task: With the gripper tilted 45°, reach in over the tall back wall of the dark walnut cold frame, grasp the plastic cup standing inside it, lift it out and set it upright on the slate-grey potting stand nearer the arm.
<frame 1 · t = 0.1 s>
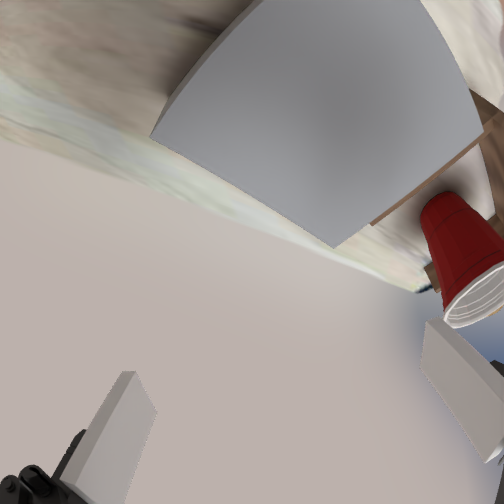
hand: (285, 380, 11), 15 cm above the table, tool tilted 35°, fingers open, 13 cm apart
potting stand: (320, 82, 16), on the table
cold frame: (439, 209, 26), on the table
plastic cup: (438, 208, 26), on the table
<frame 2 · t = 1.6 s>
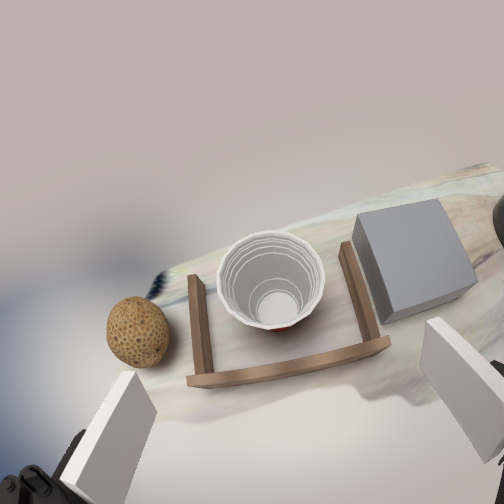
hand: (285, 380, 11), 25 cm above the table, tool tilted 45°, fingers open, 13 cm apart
potting stand: (408, 267, 37), on the table
cold frame: (279, 310, 38), on the table
plastic cup: (279, 311, 38), on the table
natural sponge: (156, 342, 38), on the table
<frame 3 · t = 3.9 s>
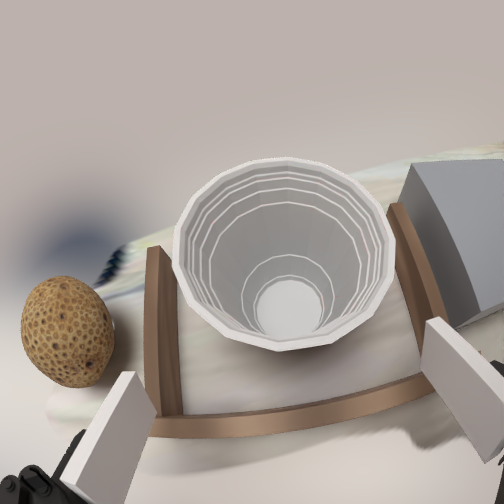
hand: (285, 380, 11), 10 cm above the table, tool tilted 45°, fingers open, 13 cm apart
potting stand: (472, 250, 22), on the table
cold frame: (291, 309, 23), on the table
plastic cup: (291, 310, 23), on the table
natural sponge: (103, 348, 24), on the table
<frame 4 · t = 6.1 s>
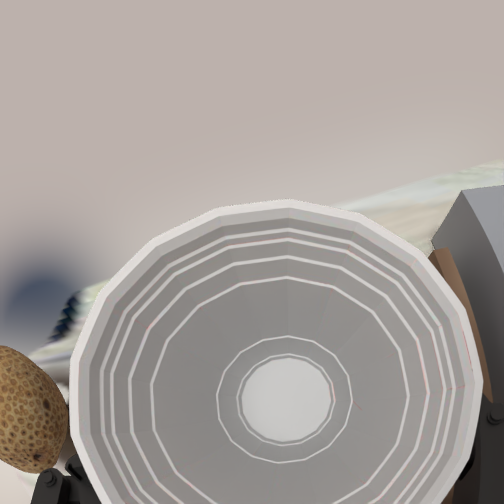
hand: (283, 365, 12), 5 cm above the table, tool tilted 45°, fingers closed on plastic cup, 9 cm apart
cold frame: (289, 398, 15), on the table
plastic cup: (289, 399, 15), on the table, touching gripper
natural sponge: (62, 418, 16), on the table
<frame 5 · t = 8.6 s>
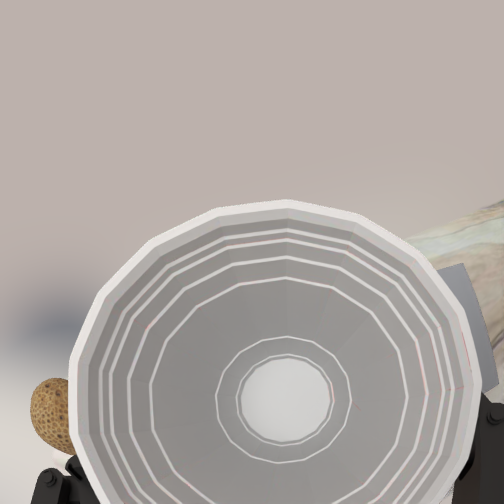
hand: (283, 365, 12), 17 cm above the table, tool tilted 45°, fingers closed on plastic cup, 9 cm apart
potting stand: (411, 355, 26), on the table
plastic cup: (289, 399, 15), point 12 cm above the table, touching gripper
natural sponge: (93, 419, 26), on the table
when the fingers open (12 cm above the table, at t = 11.1 s): plastic cup moves 2 cm, resting on potting stand.
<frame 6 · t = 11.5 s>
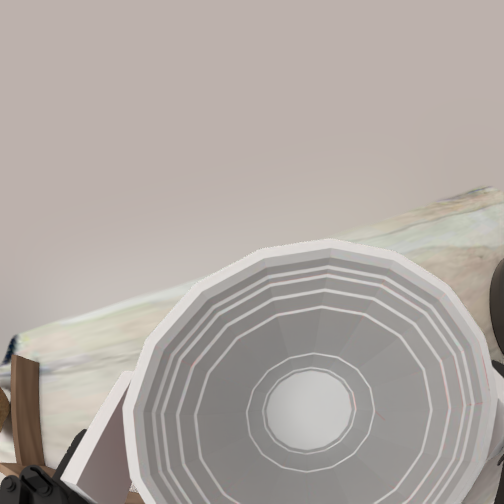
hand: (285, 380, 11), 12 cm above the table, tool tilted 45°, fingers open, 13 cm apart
cold frame: (95, 419, 22), on the table
plastic cup: (312, 409, 16), point 6 cm above the table, touching gripper, potting stand
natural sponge: (8, 410, 22), on the table
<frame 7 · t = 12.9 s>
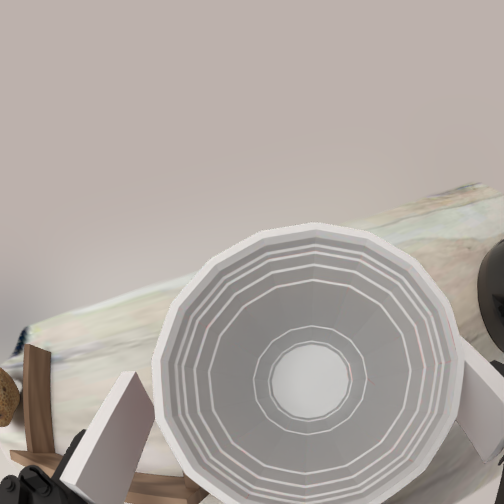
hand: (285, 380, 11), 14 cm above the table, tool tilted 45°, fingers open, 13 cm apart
cold frame: (107, 403, 24), on the table
plastic cup: (313, 380, 18), point 6 cm above the table, touching potting stand
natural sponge: (18, 400, 25), on the table
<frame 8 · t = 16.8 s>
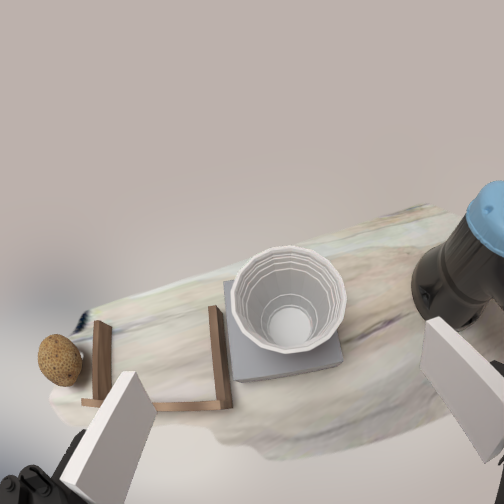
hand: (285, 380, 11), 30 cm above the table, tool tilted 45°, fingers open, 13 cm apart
potting stand: (282, 331, 41), on the table
cold frame: (159, 356, 42), on the table
plastic cup: (291, 327, 36), point 6 cm above the table, touching potting stand
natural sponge: (78, 367, 42), on the table
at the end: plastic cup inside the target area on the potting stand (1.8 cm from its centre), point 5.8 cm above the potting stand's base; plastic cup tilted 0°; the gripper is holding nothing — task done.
